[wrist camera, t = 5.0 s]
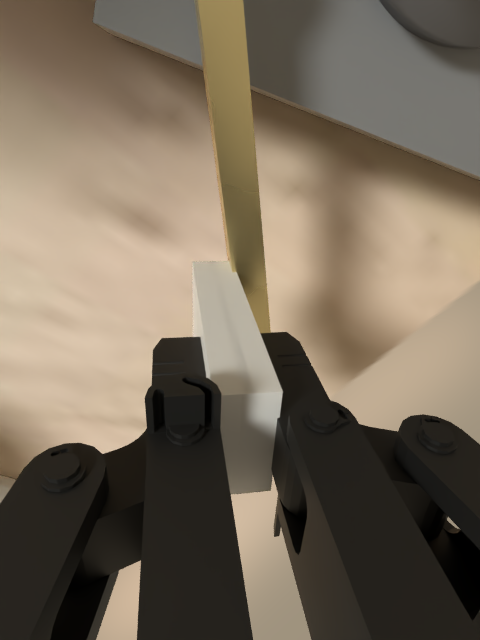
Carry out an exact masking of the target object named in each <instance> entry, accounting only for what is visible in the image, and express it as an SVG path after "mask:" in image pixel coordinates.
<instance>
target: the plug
mask: <svg viewBox="0 0 480 640" xmlns="http://www.w3.org/2000/svg"><path fill="white" fill-rule="evenodd" d="M379 1H380V2H381V4H382V5H383V6H384V8H385V9H386V10H387V11H388V12H389V14H390V15H391V16H392V17H393V18H394V19H395V20H396V21H397V22H398V23H399V24H401V25H402V26H403V27H404V28H405V29H406V30H408V31H409V32H411V33H412V34H414V35H416V36H417V37H419V38H421V39H423V40H425V41H428V42H430V43H433V44H436V45H439V46H444V47H449V48H460V49H473V48H480V0H379Z"/></svg>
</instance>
